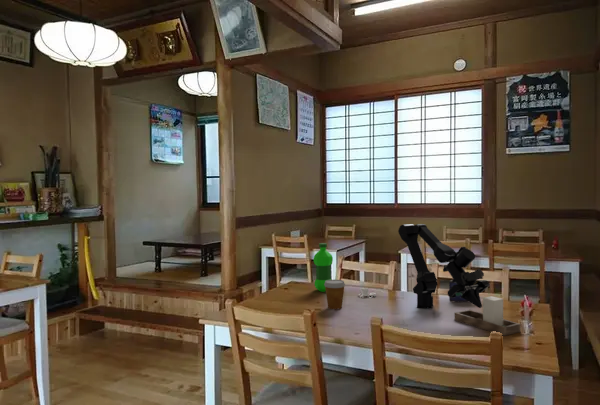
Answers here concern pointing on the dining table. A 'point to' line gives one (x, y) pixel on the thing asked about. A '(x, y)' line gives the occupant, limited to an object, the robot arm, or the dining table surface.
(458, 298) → the flask
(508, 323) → the walnut box
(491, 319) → the cream block
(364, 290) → the teacup and saucer
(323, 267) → the plastic bottle
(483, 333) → the dining table surface
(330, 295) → the disposable coffee cup
